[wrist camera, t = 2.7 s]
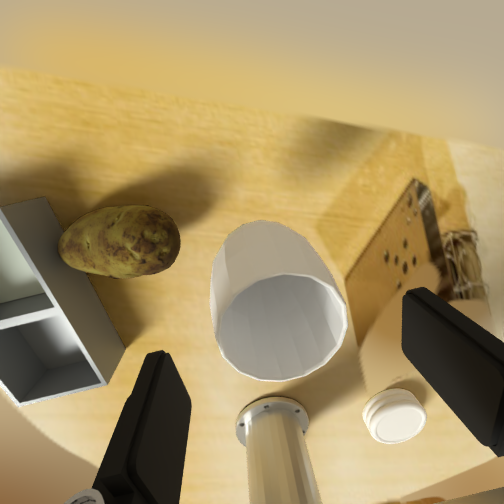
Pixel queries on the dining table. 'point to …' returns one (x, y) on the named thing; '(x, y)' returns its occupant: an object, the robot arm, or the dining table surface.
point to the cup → (274, 303)
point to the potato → (121, 242)
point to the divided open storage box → (48, 313)
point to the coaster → (394, 416)
